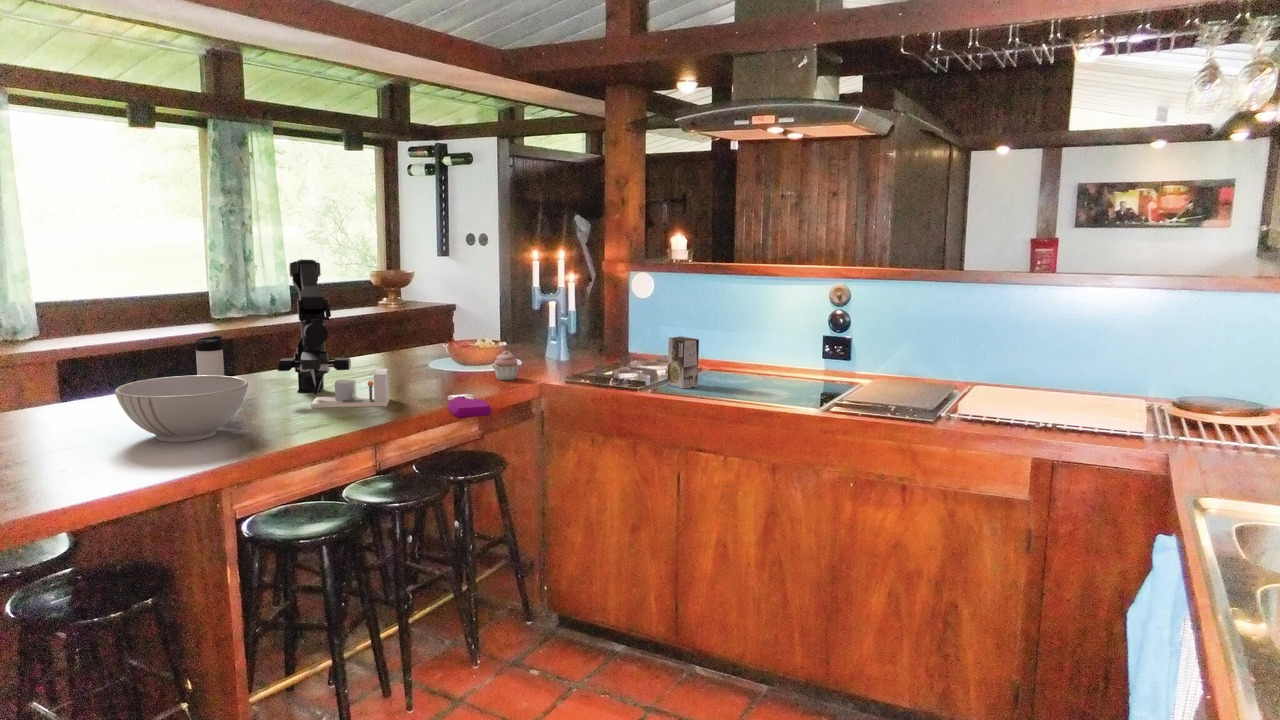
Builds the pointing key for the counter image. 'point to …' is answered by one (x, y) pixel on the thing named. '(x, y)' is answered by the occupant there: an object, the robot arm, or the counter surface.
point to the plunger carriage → (345, 389)
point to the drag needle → (370, 389)
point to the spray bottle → (468, 406)
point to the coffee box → (683, 362)
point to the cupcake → (506, 366)
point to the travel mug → (210, 356)
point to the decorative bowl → (182, 405)
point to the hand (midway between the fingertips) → (315, 394)
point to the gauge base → (360, 401)
